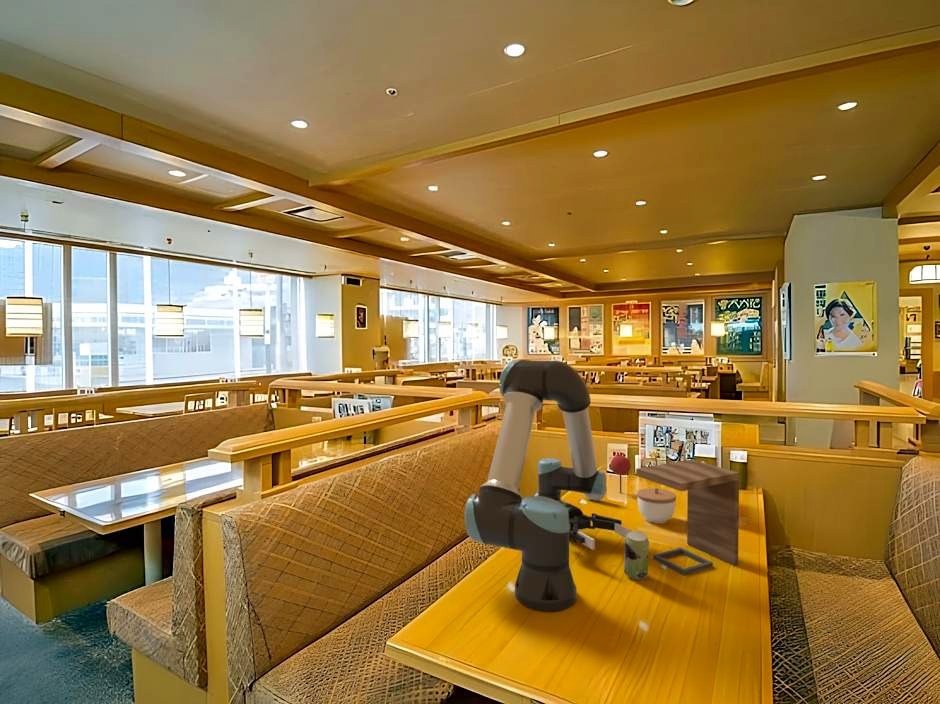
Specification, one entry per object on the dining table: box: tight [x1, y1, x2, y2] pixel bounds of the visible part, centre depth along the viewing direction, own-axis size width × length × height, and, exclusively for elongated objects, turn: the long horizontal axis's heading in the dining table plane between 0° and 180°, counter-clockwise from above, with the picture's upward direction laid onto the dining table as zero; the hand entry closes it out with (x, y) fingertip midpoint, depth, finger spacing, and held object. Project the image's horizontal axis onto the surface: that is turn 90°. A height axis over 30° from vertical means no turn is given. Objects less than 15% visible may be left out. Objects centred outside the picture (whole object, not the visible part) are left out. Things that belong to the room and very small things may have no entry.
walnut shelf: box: [635, 459, 740, 567], centre depth 143 cm, size 22×16×26 cm
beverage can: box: [623, 530, 650, 581], centre depth 134 cm, size 6×7×12 cm
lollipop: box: [609, 455, 632, 494], centre depth 204 cm, size 8×8×15 cm
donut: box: [583, 486, 608, 502], centre depth 195 cm, size 10×3×10 cm, turn 52°
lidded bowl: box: [636, 487, 677, 524], centre depth 175 cm, size 13×13×11 cm
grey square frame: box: [652, 547, 714, 576], centre depth 143 cm, size 11×11×1 cm
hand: (612, 540), depth 143 cm, fingers open, 13 cm apart
